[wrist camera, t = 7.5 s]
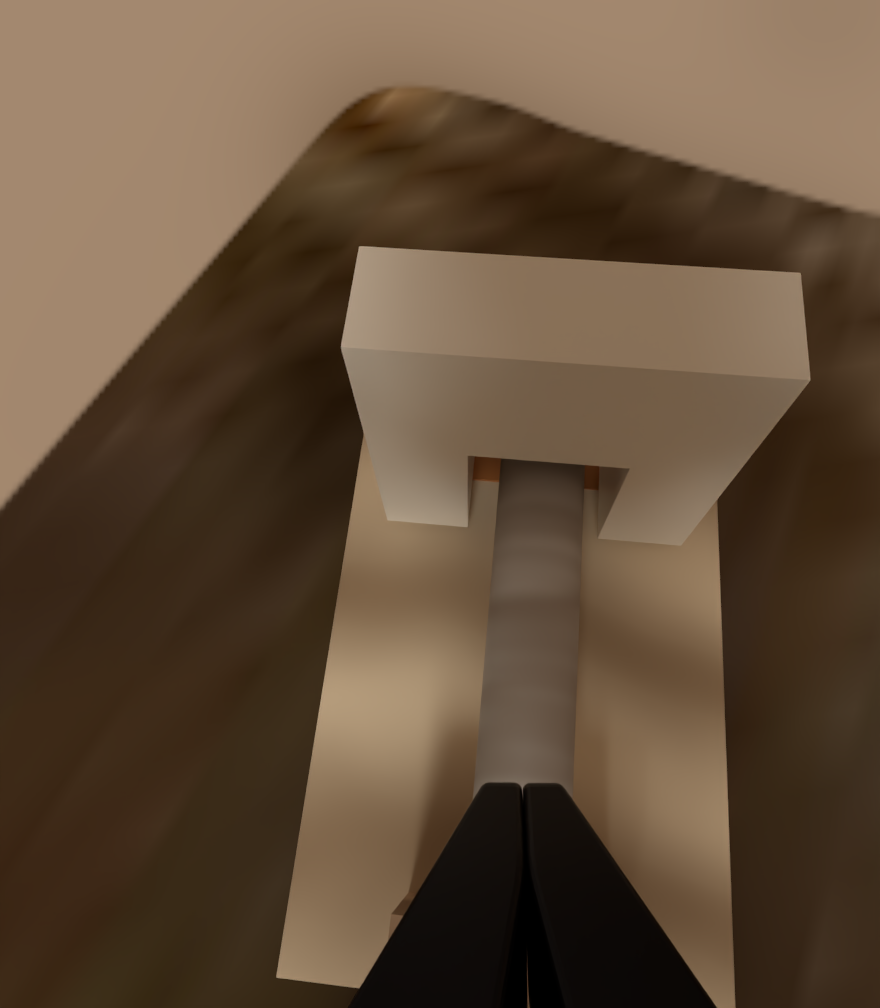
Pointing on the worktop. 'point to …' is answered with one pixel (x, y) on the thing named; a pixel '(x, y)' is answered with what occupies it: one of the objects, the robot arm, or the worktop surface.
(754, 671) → the worktop surface
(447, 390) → the sleeve
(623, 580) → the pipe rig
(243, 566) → the worktop surface
